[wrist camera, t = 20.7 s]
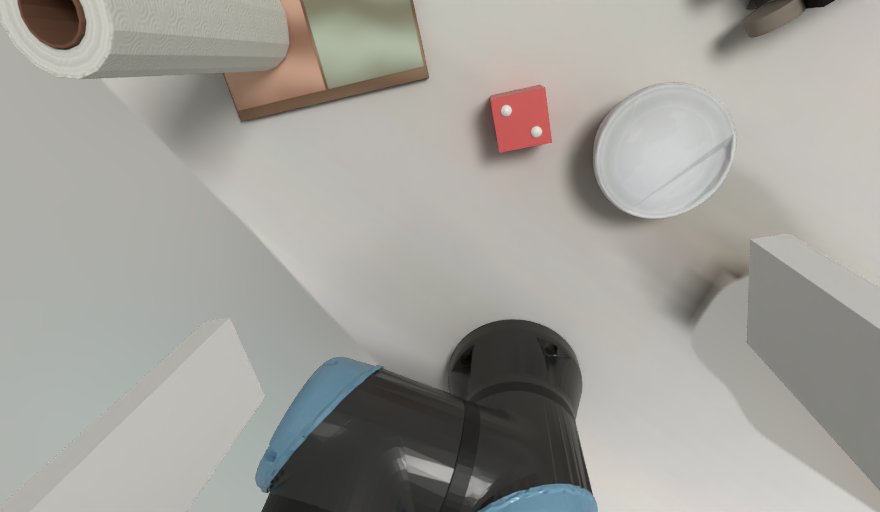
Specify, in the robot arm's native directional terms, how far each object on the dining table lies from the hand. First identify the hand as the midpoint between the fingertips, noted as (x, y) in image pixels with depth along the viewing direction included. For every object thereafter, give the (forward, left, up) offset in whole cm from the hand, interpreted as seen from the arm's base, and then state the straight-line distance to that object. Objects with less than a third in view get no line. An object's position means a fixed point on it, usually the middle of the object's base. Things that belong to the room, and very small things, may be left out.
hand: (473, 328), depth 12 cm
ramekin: (-4, -14, -35) cm, 38 cm away
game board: (+13, +14, -35) cm, 40 cm away
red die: (+1, -3, -35) cm, 35 cm away
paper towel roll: (+13, +18, -34) cm, 41 cm away
